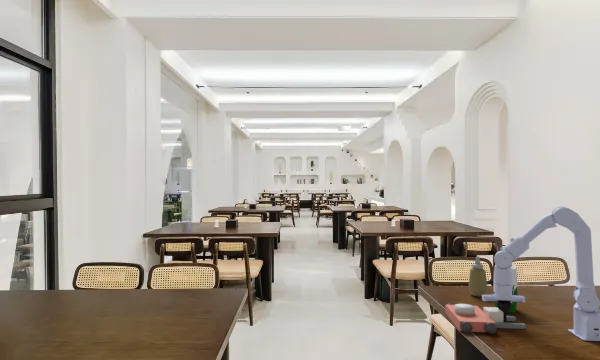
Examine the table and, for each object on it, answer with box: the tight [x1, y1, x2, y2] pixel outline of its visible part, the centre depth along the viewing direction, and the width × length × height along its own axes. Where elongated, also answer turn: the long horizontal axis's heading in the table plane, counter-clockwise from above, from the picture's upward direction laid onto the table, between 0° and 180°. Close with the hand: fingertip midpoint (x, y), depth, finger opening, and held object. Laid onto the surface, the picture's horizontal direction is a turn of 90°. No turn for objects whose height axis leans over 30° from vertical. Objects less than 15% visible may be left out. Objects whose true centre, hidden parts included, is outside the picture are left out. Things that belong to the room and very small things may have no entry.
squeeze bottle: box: [468, 255, 488, 298], centre depth 188 cm, size 8×8×18 cm
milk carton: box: [493, 264, 519, 314], centre depth 165 cm, size 9×9×20 cm
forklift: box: [444, 303, 527, 335], centre depth 149 cm, size 23×24×6 cm
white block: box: [482, 306, 504, 323], centre depth 149 cm, size 6×8×5 cm
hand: (503, 321), depth 148 cm, fingers closed
